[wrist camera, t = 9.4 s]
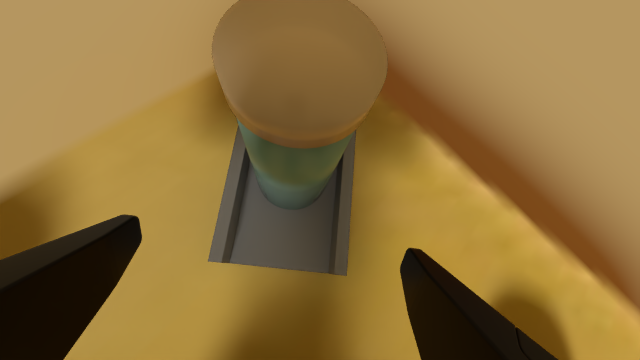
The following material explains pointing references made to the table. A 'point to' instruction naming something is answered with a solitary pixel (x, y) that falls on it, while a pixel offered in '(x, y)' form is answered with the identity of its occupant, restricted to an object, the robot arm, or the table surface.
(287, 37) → the jar
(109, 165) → the table surface
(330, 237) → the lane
